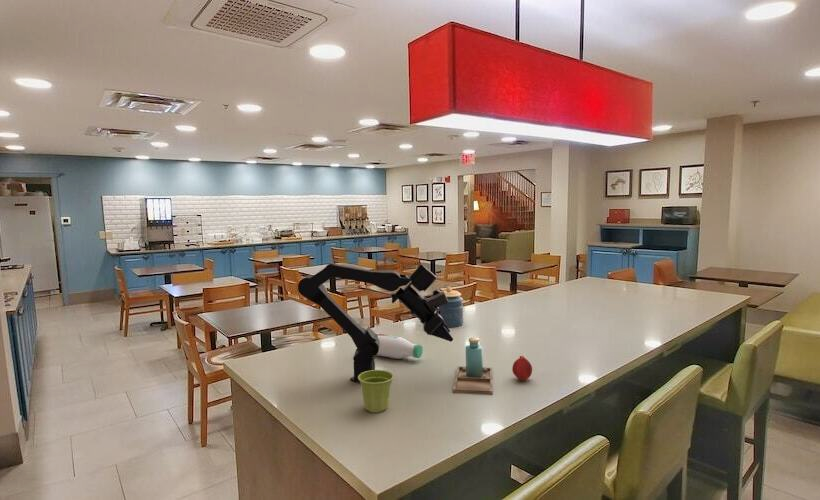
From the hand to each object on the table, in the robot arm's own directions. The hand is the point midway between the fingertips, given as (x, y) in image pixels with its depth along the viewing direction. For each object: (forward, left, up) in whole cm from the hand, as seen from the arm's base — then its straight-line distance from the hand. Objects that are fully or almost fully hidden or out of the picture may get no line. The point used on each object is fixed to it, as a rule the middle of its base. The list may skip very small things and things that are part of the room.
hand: (450, 336), depth 136 cm
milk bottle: (+6, +36, -9) cm, 38 cm away
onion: (+8, -20, -13) cm, 25 cm away
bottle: (+4, -6, -12) cm, 14 cm away
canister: (+58, +33, -13) cm, 69 cm away
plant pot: (-30, +6, -13) cm, 33 cm away
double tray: (0, -8, -13) cm, 15 cm away
